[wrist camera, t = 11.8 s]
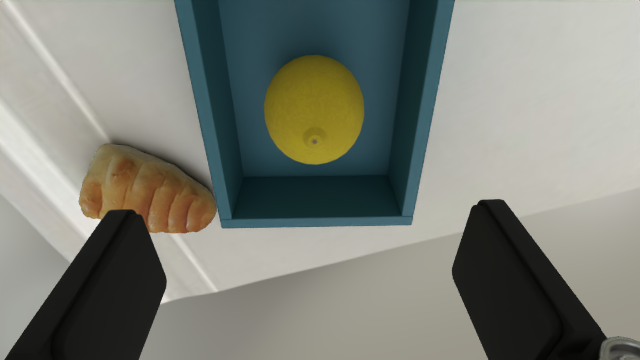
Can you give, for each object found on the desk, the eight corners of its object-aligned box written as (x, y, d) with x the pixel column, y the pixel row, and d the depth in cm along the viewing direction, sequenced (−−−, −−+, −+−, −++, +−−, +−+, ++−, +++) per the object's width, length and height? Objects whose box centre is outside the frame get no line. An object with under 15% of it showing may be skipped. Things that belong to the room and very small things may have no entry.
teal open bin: (198, -58, 19) (161, -59, 14) (427, -58, 19) (466, -58, 15) (236, 179, 28) (221, 228, 23) (394, 177, 28) (411, 225, 23)
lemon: (353, 35, 21) (373, 77, 15) (357, 119, 24) (375, 185, 18) (263, 45, 21) (242, 91, 15) (278, 127, 24) (267, 195, 18)
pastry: (229, 174, 27) (218, 204, 24) (209, 232, 31) (197, 266, 28) (101, 132, 25) (71, 160, 22) (95, 201, 29) (69, 233, 26)
